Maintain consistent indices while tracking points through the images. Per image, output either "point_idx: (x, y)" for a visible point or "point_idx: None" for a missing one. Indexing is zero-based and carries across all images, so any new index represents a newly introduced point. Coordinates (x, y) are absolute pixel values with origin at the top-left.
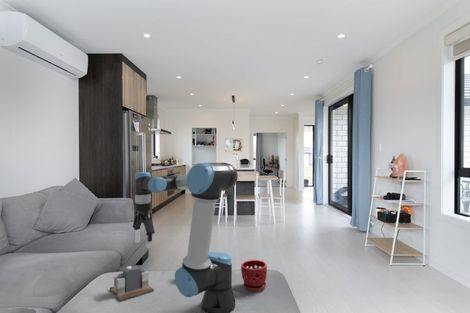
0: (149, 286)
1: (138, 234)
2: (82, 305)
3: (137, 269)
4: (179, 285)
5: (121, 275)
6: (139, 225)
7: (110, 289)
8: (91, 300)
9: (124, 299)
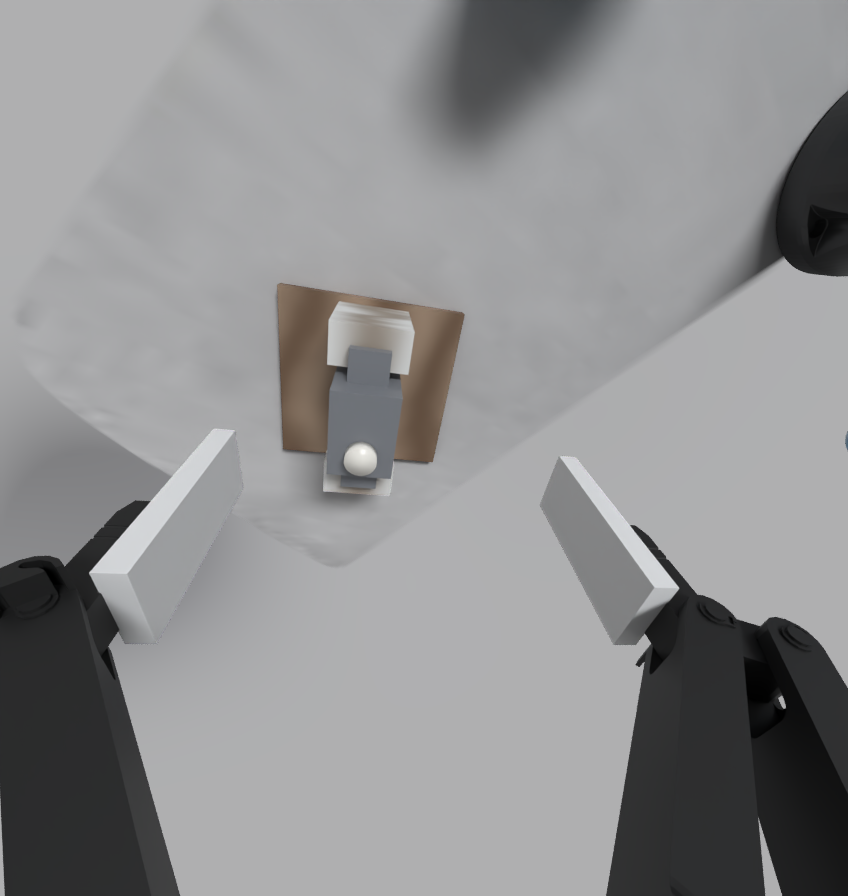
0: (416, 309)
1: (189, 527)
2: (354, 541)
3: (399, 416)
4: None
5: (371, 482)
6: (112, 712)
7: (297, 448)
8: (337, 515)
9: (434, 446)
